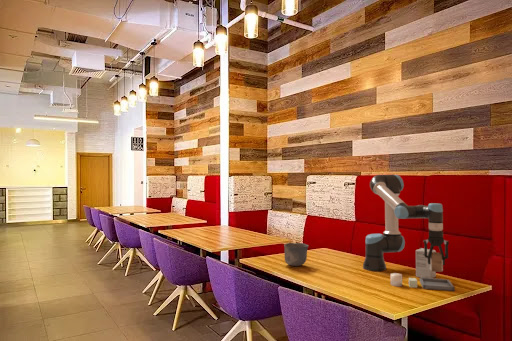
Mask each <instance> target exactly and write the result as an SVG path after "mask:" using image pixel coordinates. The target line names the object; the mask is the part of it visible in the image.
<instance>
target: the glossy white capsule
mask: <svg viewBox="0 0 512 341" xmlns="http://www.w3.org/2000/svg"><path fill="white" fill-rule="evenodd" d="M390 285H391V286H392V287H403V274H402V273H397V272H393V273H390Z"/></svg>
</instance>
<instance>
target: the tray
mask: <svg viewBox="0 0 512 341" xmlns="http://www.w3.org/2000/svg"><path fill="white" fill-rule="evenodd" d="M419 282H420V285H421V287H422V289H423V290H434V291H447V292H448V291H449V292H455V290H456V289H455V285H453V283H452V282H451V281H450V279H444V278H435V277H434V278H421V277H419Z"/></svg>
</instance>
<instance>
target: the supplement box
mask: <svg viewBox="0 0 512 341" xmlns="http://www.w3.org/2000/svg"><path fill="white" fill-rule="evenodd" d="M429 250H430V248H429V249H428V248H427V256H428V254H429ZM432 252H436V253H437V251H436V250H435V249H433V251H432ZM436 276H437V272H434V271H432V270H430V264H428V258H426V257H425V256H424V248H422V247H420V248H419V249H416V250H415V277H416V278H420V277H421V278H435V277H436Z"/></svg>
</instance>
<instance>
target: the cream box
mask: <svg viewBox="0 0 512 341" xmlns="http://www.w3.org/2000/svg"><path fill="white" fill-rule="evenodd" d="M408 286H409V288H416V289H417V288H418V280H417V277H416V278H415V277H408Z"/></svg>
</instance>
